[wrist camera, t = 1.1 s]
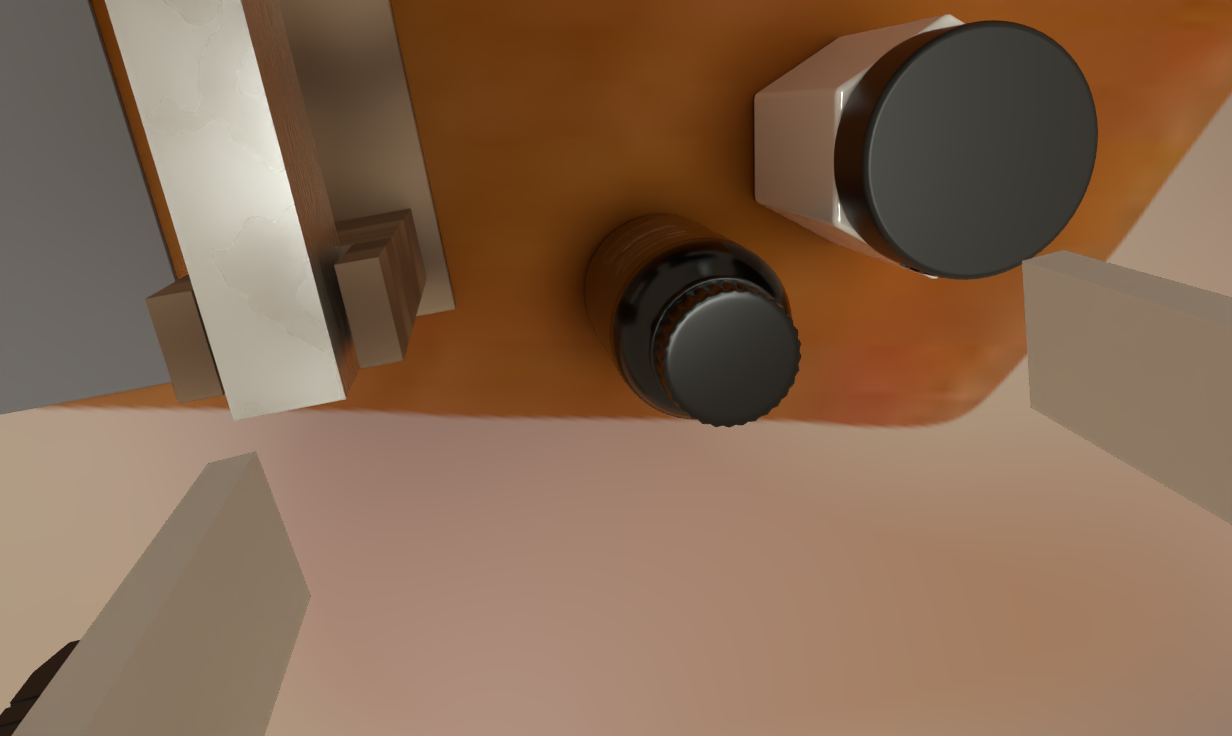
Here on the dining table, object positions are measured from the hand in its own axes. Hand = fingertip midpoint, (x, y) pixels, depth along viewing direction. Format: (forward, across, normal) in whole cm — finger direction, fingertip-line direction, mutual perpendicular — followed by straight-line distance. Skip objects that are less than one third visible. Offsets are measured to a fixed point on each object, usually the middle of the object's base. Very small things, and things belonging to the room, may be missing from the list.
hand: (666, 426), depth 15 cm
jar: (+26, +13, 0) cm, 29 cm away
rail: (+15, -8, +9) cm, 19 cm away
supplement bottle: (+25, +4, -4) cm, 26 cm away
